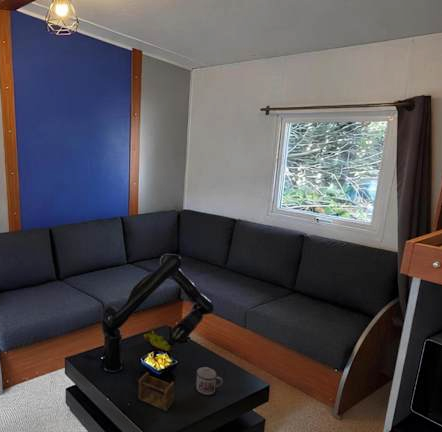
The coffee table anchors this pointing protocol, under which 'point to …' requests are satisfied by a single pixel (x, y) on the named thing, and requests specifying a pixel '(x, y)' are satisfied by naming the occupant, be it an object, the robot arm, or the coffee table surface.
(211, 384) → the teacup with lid
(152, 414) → the coffee table surface
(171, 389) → the wooden caddy
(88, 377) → the coffee table surface
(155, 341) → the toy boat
